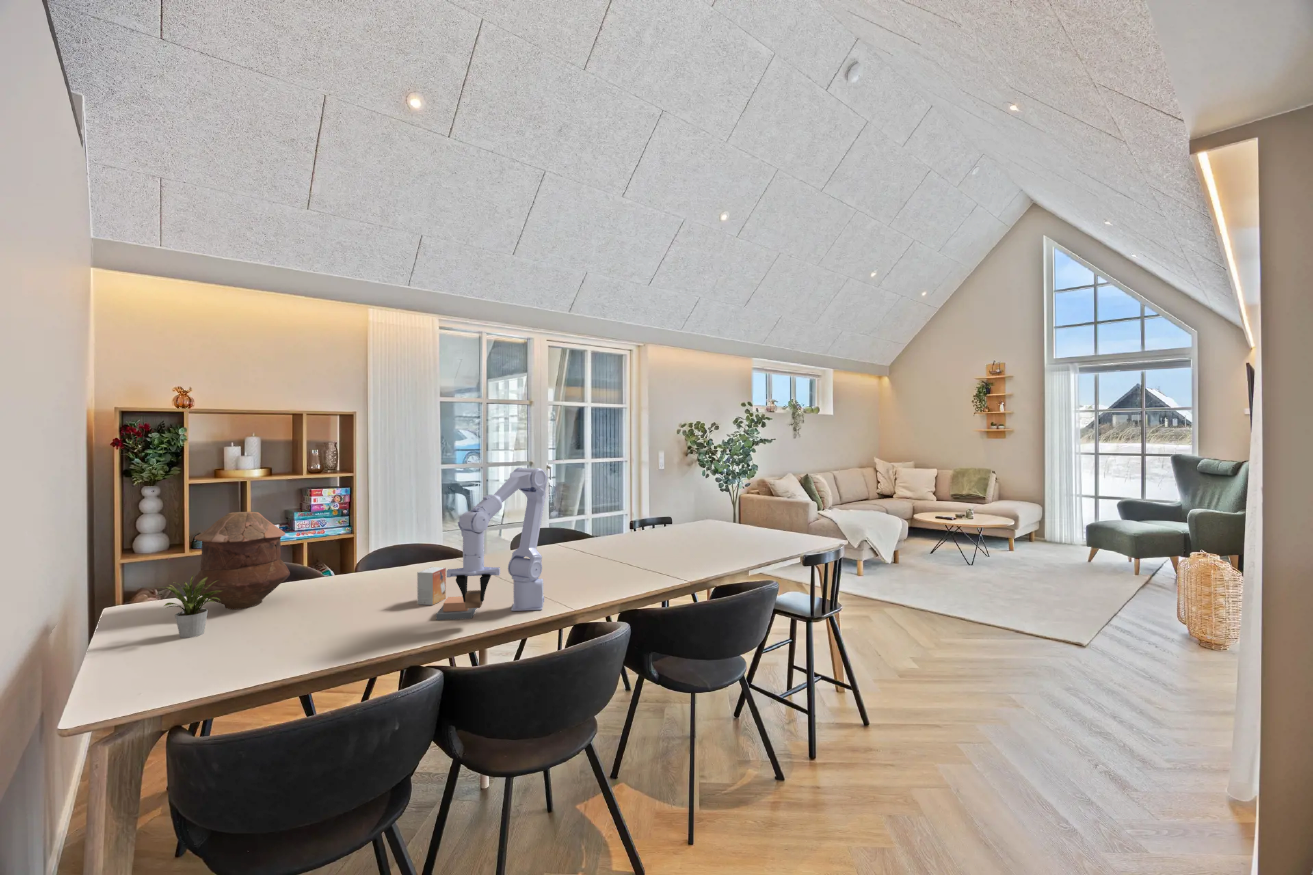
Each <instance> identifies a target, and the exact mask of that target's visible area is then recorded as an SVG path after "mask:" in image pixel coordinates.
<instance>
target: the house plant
mask: <svg viewBox="0 0 1313 875" xmlns="http://www.w3.org/2000/svg"><path fill="white" fill-rule="evenodd" d="M207 578H208V577H205V578H204V579H203V580H201V581H200V582H199V583H198V585H197V586H196V588H195V589H194V592H193V591H192V586H193V584H192V583H193V580H194V574H192V575H191V577H190V580H189V584H188V583H187V582H185V581H183V585H184V587H182V586H180V588H181V589H182V591H183V593H184V595H185V597H186V598H185V597H184V596H183V594H182V593H181V592H180V590H178V589H177V588H176V587H174V586H173V585H171V584H169V586H166V587H165V586H161V587H160V586H158V587H157V586H156V587H155V589H156V588H164V589H167V590H169V591H171V592H172V593H173V594H175V595H176V597H175V598H176V599H178V600H179V601H180V602H181V603H182V605H183V606H181V605H179V604H177V603H176V602H175V603H174V602H167V603H165V604H164V605H163V607H166V606H167V607H166V609H168V608H171V607H172V608H173V607H174V605H175V606H176V607H177V608H180V609H182V611H179V612H176V613H175V614H174V616H175V622H176V625H177V630H178V634H179V638H181V639H189V638H194V637H195V636H196V637H199V636H201V635H204V632H205V629H206V624H207V618H208V617H207V616H208V611H209V609H208V608H204V607H203V606H204V605H205V604H206V603H210V602H211V603H215V604H216V602H215V601H214V600H210V599H218V600H219V598H217V597H212V598H208V597H209V596H211V595H213V594H215V593H217V592H221V591H212V592H209V593H204V594H205V595H204V594H201V595H200V593H201V591H202V588H204V587H203V586H204V585H205V581H206V579H207ZM217 581H218V580H217ZM215 582H216V581H215ZM171 583H172V584H174V583H175V582H173V581H172V582H171ZM213 583H214V582H213ZM213 583H212V584H213ZM176 584H177V585H179V583H178V582H176ZM210 585H211V584H210ZM210 585H208V587H209V586H210ZM205 587H206V586H205ZM208 587H207V588H208ZM207 588H204V589H205V590H206V589H207ZM205 590H204V591H205ZM204 591H203V592H204ZM202 595H203V596H202ZM207 598H208V599H207ZM202 607H203V608H202Z"/></svg>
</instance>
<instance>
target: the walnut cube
mask: <svg viewBox="0 0 1313 875" xmlns="http://www.w3.org/2000/svg"><path fill="white" fill-rule="evenodd" d="M480 594H481V589H476V590H475V589H474V590H467V593H466V594H465V609H468V608H477V609H480V608H482V605H483V602H481V601H480Z"/></svg>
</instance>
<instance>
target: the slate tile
mask: <svg viewBox="0 0 1313 875" xmlns="http://www.w3.org/2000/svg"><path fill="white" fill-rule="evenodd" d="M476 609H478V608H469V609H468V611H448V612H443V605H442V606H441V607H440V609H438V611H437V612H436V615H435V618H436V619H435V620H436V621H445V620H444V619H451V620H469V619H472V618H473V616H474V614H475V613H476V611H477V610H476ZM475 610H476V611H475Z"/></svg>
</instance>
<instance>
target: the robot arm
mask: <svg viewBox="0 0 1313 875" xmlns="http://www.w3.org/2000/svg"><path fill="white" fill-rule="evenodd" d="M547 485H548V475H547V474H546V472H545V471H544V469H543V468H541V467H537V468H531V467H528V468H527V467H516V468H515V469H514V470H513V471H511V472H510V473H509V477H508V478H507V480H506V481H505V482H504V483H503V484H502V485H501V487H499V488H498V489H497V491H495V493H494V494H487V495H484V496H483V497H482V500H481V501H480V502H479V503H477V504H476V505H475V506H473V507H471V509H470V510H469V511H465V512H463V513H462V514H461V516H460V517H459V521H458V522H457V526H458V529H459V530H460V533H461V537H462V567H458V568H449V569H446V578H452V577H453V578H454V577H456V578H455V582H456V584H457V586H458V588H459V590H460V593H461V597H462V596H463V601H464V602H465V594H466V593H467V591H468V577H475V576H476V577H478V576H479V584H480V590H481V594H480V601H481V602H482V603H483V602H484V601H485V595H486V591H487V587H488V584H489V581H490V580H491V578H492V576H495V577H496V576H498V577H499V576H500V574H501V567H499V566H498V567H495V566H492V567H491V566H485V551H484V549H485V546H484V544H485V542H484V541H485V539H484V537H485V536H484V534H485V531H486V530H487V529H488V527H489V523H490V522H491V519H493V517H494V516H496V514H498V513H499V512H500V511H501V510H502V508H503V503H504V502H505V501H506V500H507V499H509V497H511V496H512V495H514V493H516V492H517V491H519V490H520V492H522V493H523V494H524V495H525V497H526V498H527V502H526V505H525V506H526V507H525V512H524V519H523V524H522V529H521V535H520V541H519V546H518V548H516V549H515V550H514V551H513V552H512V555H511V558H510V560H509V562H508V565H507V571H508V574H509V575H510V576H511V579H512V580H513V603H512V606H511V608H510V611H511V612H519V611H541V610H543V609H544V603H545V596H544V578H540V576H541V575H542V571H543V564H542V560H543V556H542V554H541V553H540V552H539V551H538V549H537V547H538V543H539V542H538V541H539V538H540V537H539V536H540V529H541V525H542V518H543V513H544V512H543V511H544V509H545V508H544V506H545V499H546V493H547V492H546V490H547Z"/></svg>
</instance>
